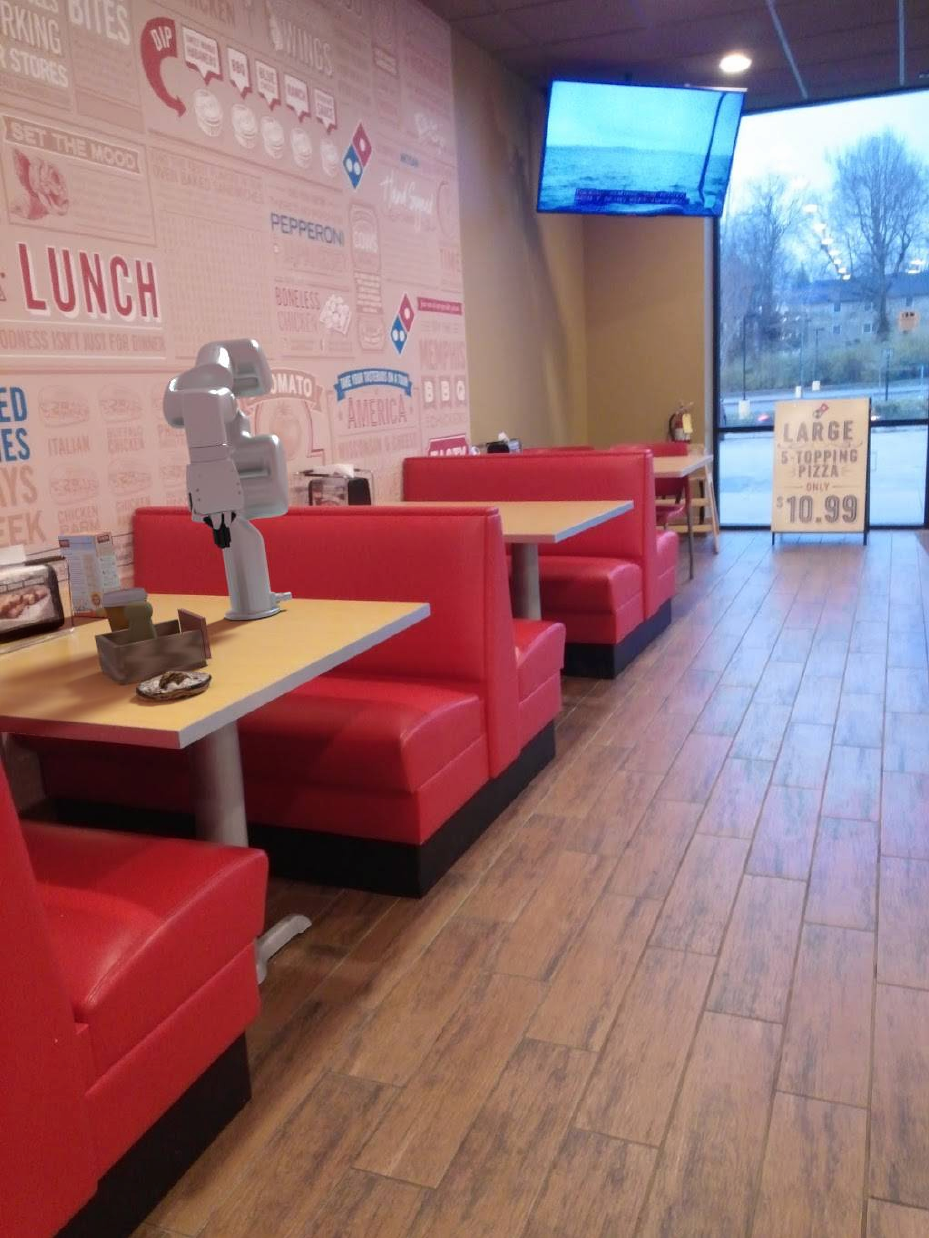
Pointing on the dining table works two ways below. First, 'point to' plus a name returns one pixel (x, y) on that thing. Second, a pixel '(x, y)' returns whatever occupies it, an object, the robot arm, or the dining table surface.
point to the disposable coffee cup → (120, 605)
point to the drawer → (195, 627)
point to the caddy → (150, 653)
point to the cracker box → (90, 570)
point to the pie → (173, 686)
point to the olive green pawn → (140, 621)
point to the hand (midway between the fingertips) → (223, 547)
